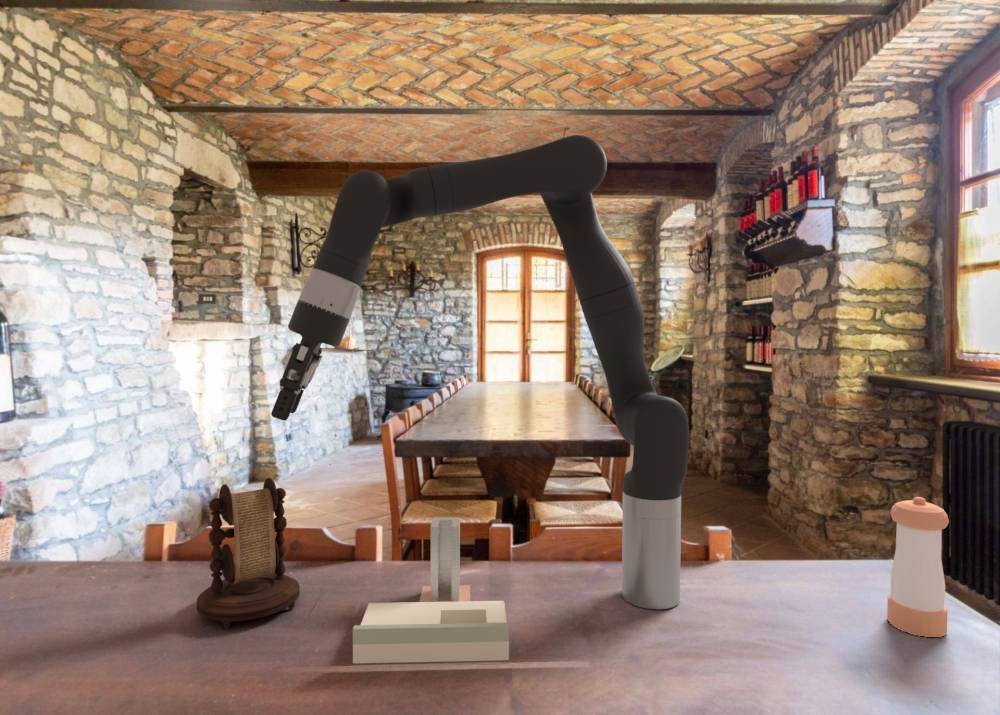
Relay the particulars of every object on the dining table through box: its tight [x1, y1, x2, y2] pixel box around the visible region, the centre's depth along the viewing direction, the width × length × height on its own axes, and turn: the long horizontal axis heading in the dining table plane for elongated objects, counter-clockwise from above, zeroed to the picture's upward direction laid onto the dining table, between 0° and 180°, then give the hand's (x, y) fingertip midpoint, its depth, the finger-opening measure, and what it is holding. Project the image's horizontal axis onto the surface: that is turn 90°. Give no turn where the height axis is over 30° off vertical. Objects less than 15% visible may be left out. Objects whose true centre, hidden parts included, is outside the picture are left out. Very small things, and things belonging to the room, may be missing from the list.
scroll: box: [196, 477, 301, 630], centre depth 92 cm, size 15×15×20 cm
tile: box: [419, 584, 471, 602], centre depth 96 cm, size 8×8×1 cm
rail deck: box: [352, 600, 510, 669], centre depth 82 cm, size 12×20×5 cm, turn 93°
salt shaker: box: [886, 496, 950, 638], centre depth 87 cm, size 7×7×19 cm
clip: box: [430, 517, 461, 602], centre depth 96 cm, size 4×4×12 cm
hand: (283, 414), depth 84 cm, fingers open, 8 cm apart
